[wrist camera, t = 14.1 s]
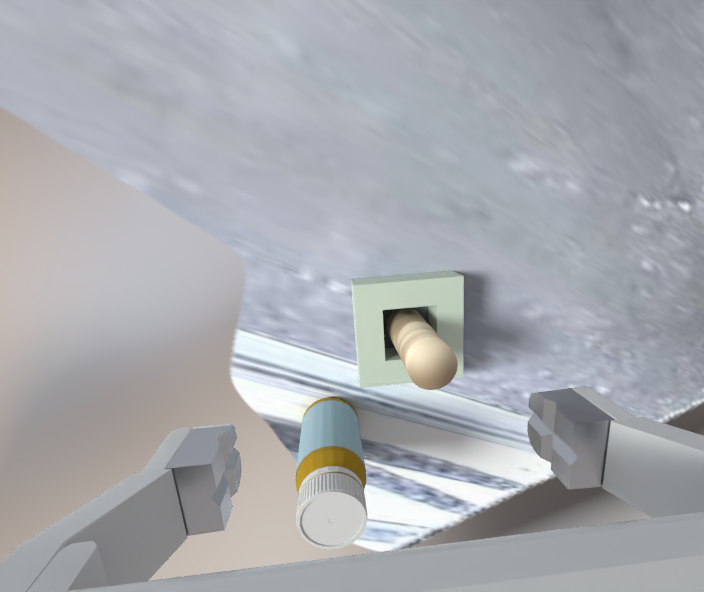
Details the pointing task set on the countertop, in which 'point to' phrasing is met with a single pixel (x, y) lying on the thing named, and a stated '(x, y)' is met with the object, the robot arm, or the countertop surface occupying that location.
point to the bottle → (330, 476)
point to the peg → (421, 349)
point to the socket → (396, 293)
